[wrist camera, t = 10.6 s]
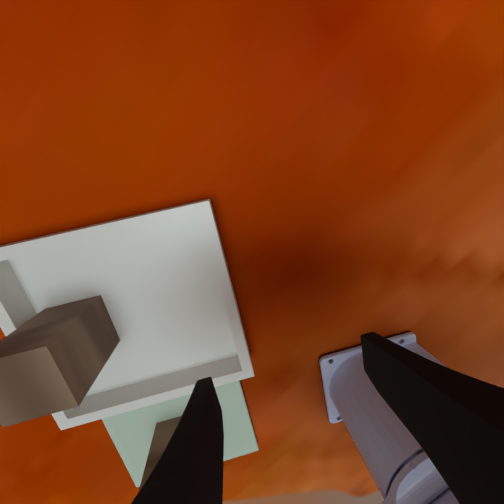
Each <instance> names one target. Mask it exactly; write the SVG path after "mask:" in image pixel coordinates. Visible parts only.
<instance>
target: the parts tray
mask: <svg viewBox="0 0 504 504" xmlns="http://www.w3.org/2000/svg"><path fill="white" fill-rule="evenodd" d="M99 295H101V297H102V299H103V301H104V304H105V306H106V308H107V311H108V313H109V315H110V318H111V320H112V322H113V325H114V327H115V329H116V332H117V334H118V336H119V338H120V342H119V343H118V345H117V346H116V348H115V350H114V351H113V353H112V354H111V356H110V358H109V359H108V361H107V362H106V364H105V365H104V367H103V369H102V370H101V372H100V373H99V375H98V377H97V378H96V380H95V381H94V383H93V385H92V386H91V388H90V389H89V391H88V393H87V394H86V396H85V397H84V399H83V401H82V402H81V404H80V405H79V406H78V407H75V408H71V409H67V410H64V411H60V412H57V413H53V414H52V416H53V418H54V419H55V421H56V423H57V424H58V426H59V428H60V430H63V429H67V428H71V427H74V426H78V425H81V424H85V423H89V422H92V421H96V420H99V419H103V418H106V417H110V416H114V415H117V414H121V413H124V412H128V411H131V410H135V409H139V408H142V407H146V406H149V405H153V404H156V403H160V402H164V401H167V400H171V399H174V398H178V397H181V396H185V395H189V394H192V391H193V389H194V387H195V384H196V382H197V381H198V380H200V379H203V378H207V377H211V378H212V381H213V384H214V387H217V386H221V385H224V384H228V383H232V382H235V381H239V380H242V379H246V378H249V377H253V376H254V371H253V366H252V361H251V356H250V352H249V348H248V344H247V340H246V336H245V332H244V328H243V324H242V320H241V316H240V313H239V309H238V305H237V301H236V297H235V293H234V289H233V285H232V281H231V277H230V274H229V270H228V266H227V262H226V258H225V254H224V250H223V246H222V242H221V238H220V234H219V231H218V227H217V223H216V219H215V215H214V211H213V207H212V203H211V199H205V200H201V201H196V202H192V203H187V204H183V205H178V206H174V207H169V208H165V209H161V210H156V211H152V212H147V213H143V214H138V215H134V216H129V217H125V218H121V219H116V220H112V221H107V222H103V223H98V224H94V225H89V226H85V227H80V228H76V229H72V230H67V231H63V232H58V233H54V234H49V235H45V236H40V237H36V238H32V239H27V240H23V241H18V242H14V243H9V244H5V245H0V327H1V329H2V331H3V332H4V334H5V336H7V335H9V334H10V333H12V332H13V331H14V330H16V329H17V328H19V327H20V326H21V325H23V324H24V323H26V322H27V321H28V320H30V319H31V318H33V317H34V316H35V315H37V314H38V313H40V312H41V311H42V310H44V309H46V308H50V307H54V306H58V305H62V304H66V303H70V302H74V301H78V300H82V299H87V298H91V297H95V296H99Z"/></svg>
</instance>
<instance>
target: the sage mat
mask: <svg viewBox="0 0 504 504" xmlns="http://www.w3.org/2000/svg"><path fill="white" fill-rule="evenodd" d="M215 390H216V393H217V397H218V400H219V403H220V406H221V409H222V417H223V430H224V458H223V461H225V460H228V459H232V458H235V457H238V456H242V455H245V454H248V453H252V452H255V451H258V450H259V449H258V443H257V440H256V436H255V433H254V429H253V426H252V422H251V418H250V415H249V411H248V408H247V404H246V401H245V397H244V394H243V390H242V386H241V383H240V380H239V381H235V382H232V383H228V384H224V385H221V386H217V387H215ZM190 396H191V394H189V395H185V396H181V397H178V398H174V399H171V400H167V401H164V402H160V403H156V404H153V405H149V406H146V407H142V408H139V409H135V410H131V411H128V412H124V413H121V414H117V415H114V416H110V417H106V418H103V419H102V421H103V423H104V425H105V427H106V429H107V431H108V433H109V435H110V436H111V438H112V440H113V442H114V444H115V446H116V448H117V450H118V452H119V454H120V456H121V458H122V460H123V462H124V464H125V466H126V468H127V470H128V472H129V473H130V475H131V477H132V479H133V481H134V483H135V485H136V487H139V486H140V484H141V480H142V477H143V473H144V469H145V465H146V461H147V457H148V453H149V450H150V446H151V442H152V438H153V434H154V430H155V426H156V423H158V422H161V421H165V420H169V419H172V418H176V417H180V416H182V414H183V412H184V410H185V408H186V405H187V403H188V401H189V399H190Z"/></svg>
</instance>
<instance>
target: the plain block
mask: <svg viewBox="0 0 504 504" xmlns="http://www.w3.org/2000/svg"><path fill="white" fill-rule="evenodd" d="M119 342H120V338H119V336H118V334H117V332H116V329H115V327H114V325H113V322H112V320H111V318H110V315H109V313H108V311H107V308H106V306H105V304H104V301H103V299H102V297H101V295H99V296H95V297H91V298H87V299H82V300H78V301H74V302H70V303H66V304H62V305H58V306H54V307H50V308H46V309H44V310H42V311H41V312H40V313H38V314H37V315H35V316H34V317H33V318H31V319H30V320H28V321H27V322H26V323H24V324H23V325H21V326H20V327H19V328H17V329H16V330H14V331H13V332H12V333H10V334H9V335H7V336H6V337H5V338H3V339H2V340H1V341H0V423H1V425H2V426H3V427H6V426H9V425H13V424H16V423H20V422H24V421H27V420H31V419H35V418H38V417H42V416H46V415H49V414H53V413H57V412H60V411H64V410H67V409H71V408H75V407H78V406H79V405H80V404H81V402H82V401H83V399H84V397H85V396H86V394H87V393H88V391H89V389H90V388H91V386H92V385H93V383H94V381H95V380H96V378H97V377H98V375H99V373H100V372H101V370H102V369H103V367H104V365H105V364H106V362H107V361H108V359H109V358H110V356H111V354H112V353H113V351H114V350H115V348H116V346H117V345H118V343H119Z"/></svg>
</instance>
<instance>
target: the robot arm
mask: <svg viewBox="0 0 504 504" xmlns="http://www.w3.org/2000/svg"><path fill="white" fill-rule="evenodd" d="M330 359H331V360H330ZM329 360H330V361H329ZM319 364H320V370H321V376H322V383H323V389H324V395H325V402H326V408H327V414H328V419H329V421H330V422H331V423H337V422H340V421H343V422H344V424H345V426H346V428H347V430H348V432H349V434H350V435H351V437H352V439H353V441H354V443H355V445H356V447H357V449H358V451H359V453H360V454H361V456H362V458H363V460H364V462H365V464H366V466H367V468H368V470H369V471H370V473H371V475H372V477H373V479H374V481H375V483H376V485H377V487H378V488H379V490H380V492H381V494H382V496H383V498H384V501H383V502H382V503H381V504H504V388H501V387H498V386H495V385H492V384H489V383H486V382H483V381H481V380H478V379H475V378H473V377H470V376H467V375H464V374H462V373H459V372H457V371H454V370H452V369H449V368H448V367H446V366H445V365H444V364H443V363H441V362H440V361H439V360H438V359H436V358H435V357H434V356H433V355H431V354H430V353H429V352H427V351H426V350H425V349H424V348H422V347H421V346H420V345H419V344H417V343H416V335H415V334H414V333H412V332H408V333H404V334H401V335H397V336H394V337H390V338H384V337H382V336H380V335H378V334H376V333H374V332H370V333H366V334H363V335H361V346H358V347H354V348H351V349H347V350H343V351H340V352H336V353H333V354H329V355H326V356H323V357H321V358H320V360H319ZM223 458H224V430H223V417H222V409H221V406H220V403H219V400H218V397H217V393H216V390H215V387H214V384H213V381H212V378H211V377H207V378H203V379H200V380H198V381H197V382H196V384H195V387H194V389H193V391H192V394H191V396H190V399H189V401H188V403H187V405H186V408H185V410H184V412H183V414H182V416H181V419H180V421H179V423H178V425H177V427H176V429H175V431H174V433H173V435H172V437H171V439H170V440H169V442H168V444H167V446H166V448H165V450H164V452H163V454H162V455H161V457H160V459H159V461H158V462H157V464H156V466H155V467H154V469H153V471H152V472H151V474H150V476H149V477H148V479H147V480H146V482H145V484H144V485H143V487H142V488H141V490H140V491H139V493H138V494H137V496H136V497H135V499H134V500H133V502H132V503H131V504H222V496H223Z"/></svg>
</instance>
